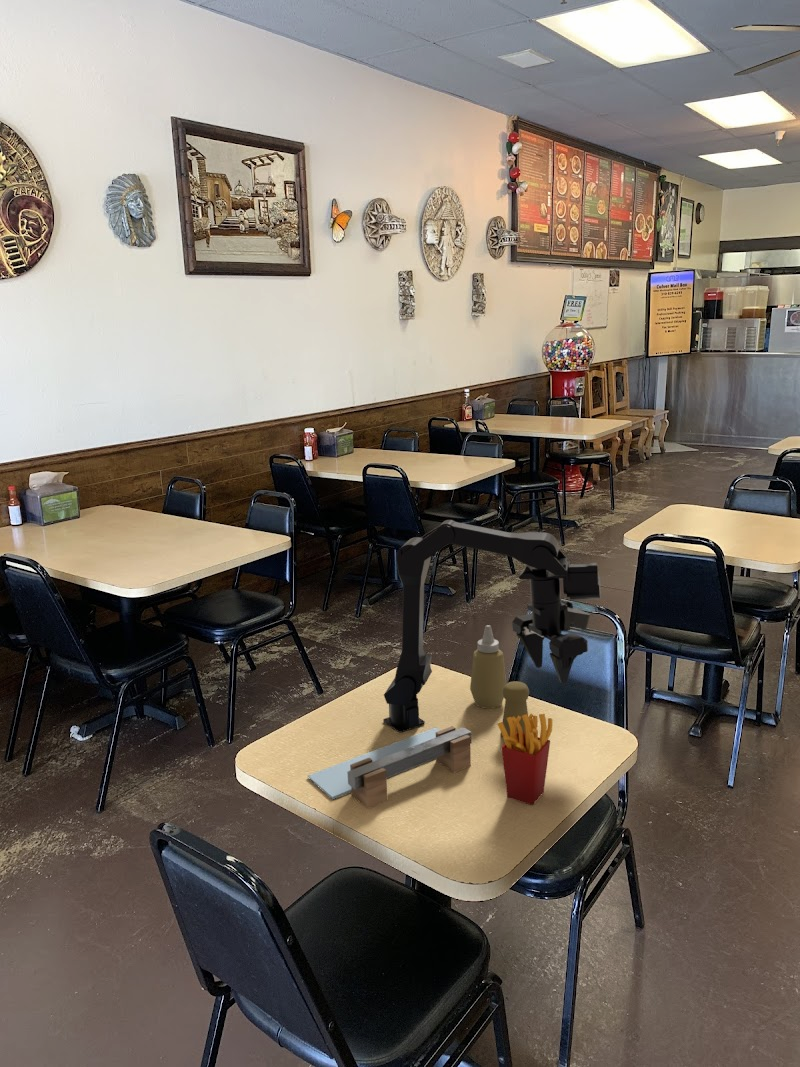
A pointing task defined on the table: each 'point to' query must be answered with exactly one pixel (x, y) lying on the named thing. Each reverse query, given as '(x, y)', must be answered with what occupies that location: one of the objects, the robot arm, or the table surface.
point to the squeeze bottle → (488, 672)
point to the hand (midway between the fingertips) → (551, 675)
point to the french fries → (525, 757)
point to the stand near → (371, 786)
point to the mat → (337, 776)
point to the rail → (407, 757)
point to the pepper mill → (515, 703)
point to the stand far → (456, 752)
